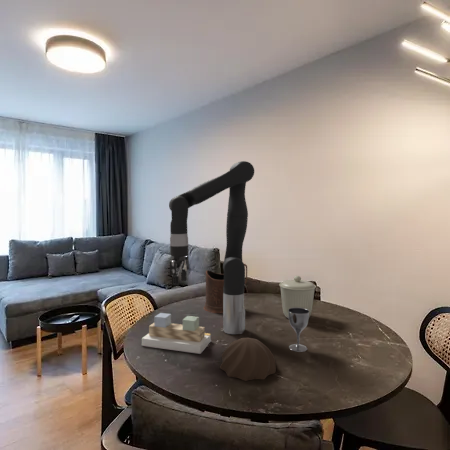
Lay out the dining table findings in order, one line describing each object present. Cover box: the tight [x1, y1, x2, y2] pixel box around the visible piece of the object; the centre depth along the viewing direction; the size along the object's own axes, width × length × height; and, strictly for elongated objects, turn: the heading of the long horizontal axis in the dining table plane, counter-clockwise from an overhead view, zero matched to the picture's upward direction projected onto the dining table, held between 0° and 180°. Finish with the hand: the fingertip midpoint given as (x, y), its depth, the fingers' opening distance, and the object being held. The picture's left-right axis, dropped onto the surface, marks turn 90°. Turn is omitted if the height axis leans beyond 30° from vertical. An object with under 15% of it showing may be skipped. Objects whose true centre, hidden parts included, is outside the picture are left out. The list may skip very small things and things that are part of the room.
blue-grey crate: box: [153, 312, 172, 328], centre depth 134 cm, size 5×5×4 cm
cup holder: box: [203, 263, 248, 314], centre depth 179 cm, size 18×24×25 cm
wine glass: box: [288, 307, 310, 353], centre depth 129 cm, size 8×8×15 cm
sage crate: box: [182, 315, 200, 331], centre depth 130 cm, size 5×5×4 cm
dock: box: [141, 332, 212, 355], centre depth 133 cm, size 25×12×3 cm, turn 74°
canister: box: [278, 275, 317, 319], centre depth 165 cm, size 18×18×21 cm
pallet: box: [148, 322, 206, 342], centre depth 132 cm, size 22×6×4 cm, turn 74°
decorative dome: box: [219, 337, 277, 382], centre depth 114 cm, size 19×20×10 cm
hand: (180, 282), depth 137 cm, fingers open, 8 cm apart
